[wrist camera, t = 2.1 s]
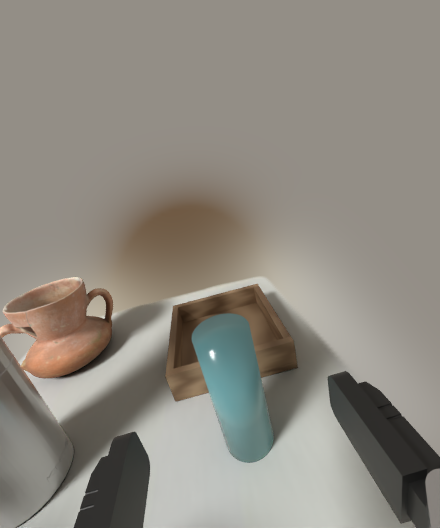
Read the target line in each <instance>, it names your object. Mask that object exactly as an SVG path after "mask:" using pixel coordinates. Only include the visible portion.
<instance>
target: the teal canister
mask: <svg viewBox="0 0 440 528" xmlns="http://www.w3.org/2000/svg"><path fill="white" fill-rule="evenodd" d="M192 343H193V346H194V349H195V352H196V355H197V358H198V361H199V364H200V367H201V370H202V373H203V376H204V379H205V382H206V385H207V388H208V391H209V394H210V397H211V400H212V403H213V406H214V409H215V412H216V415H217V418H218V421H219V424H220V427H221V430H222V433H223V436H224V439H225V442H226V445H227V448H228V450H229V452H230V453H231V455H232V456H233V457H235V458H236V459H237V460H239V461H242V462H247V463H250V462H256V461H258V460H260V459H262V458H263V457H265V456H266V455H267V454H268V452H269V451H270V449H271V447H272V444H273V439H274V435H273V429H272V425H271V420H270V416H269V411H268V407H267V402H266V398H265V393H264V389H263V384H262V380H261V375H260V371H259V366H258V362H257V357H256V353H255V348H254V344H253V339H252V335H251V330H250V326H249V322H248V321H247V320H246V319H245V318H244V317H243V316H241V315H238V314H231V313H226V314H219V315H215V316H212V317H210V318H208V319H206V320H204V321H203V322H201V323H200V324H199V325H198V326H197V327H196V328H195V330H194V331H193V333H192Z"/></svg>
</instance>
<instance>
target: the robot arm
mask: <svg viewBox="0 0 440 528" xmlns="http://www.w3.org/2000/svg"><path fill="white" fill-rule="evenodd" d="M328 387H329V395H330V403H331V407H332V410H333V412H334V415H335V417H336V418H337V420H338V422H339V423H340V425H341V427H342V428H343V430H344V432H345V433H346V435H347V437H348V438H349V440H350V441H351V443H352V445H353V446H354V448H355V450H356V451H357V453H358V454H359V456H360V458H361V459H362V461H363V463H364V464H365V466H366V467H367V469H368V471H369V472H370V474H371V476H372V477H373V479H374V480H375V482H376V484H377V485H378V487H379V489H380V490H381V492H382V494H383V495H384V497H385V498H386V500H387V502H388V503H389V505H390V507H391V508H392V510H393V511H394V513H395V515H396V516H397V518H398V520H399V521H400V523H404V522H408V521H411V520H412V522H413V523H414V525H415V527H416V528H440V457H439V456H438V455H437V454H436V452H435V451H434V450H433V449H432V448H431V447H430V446H429V445H428V444H427V442H426V441H425V440H424V439H423V438H422V437H421V436H420V435H419V433H418V432H417V431H416V430H415V429H414V428H413V427H412V426H411V425H410V424H409V422H408V421H407V420H406V419H405V418H404V417H402V416H401V413H400V412H399V411H398V410H397V409H396V408H395V407H394V406H392V404H391V402H390V401H389V400H388V399H387V398H386V397H385V396H384V395H383V394H382V392H381V391H380V390H378V389H377V388H375V387H373V386H372V385H370V384H369V383H367V382H362V383H359V384H358V383H357V382H356V381H355V380H354V379H353V377H352V376H351V375H350V374H349V373H348V372H346V371H345V372H341V373H338V374H334V375H331V376H328ZM73 453H74V449H73V444H72V443H71V441H70V440H69V438H68V436H67V435H66V433H65V432H64V430H63V429H62V427H61V426H60V424H59V423H58V421H57V420H56V418H55V417H54V415H53V414H52V412H51V411H50V409H49V408H48V406H47V405H46V403H45V402H44V400H43V399H42V397H41V396H40V394H39V393H38V391H37V390H36V388H35V387H34V385H33V384H32V382H31V381H30V379H29V378H28V376H27V375H26V373H25V372H24V370H23V369H22V367H21V366H20V364H19V363H18V361H17V360H16V358H15V357H14V355H13V354H12V353H11V351H10V350H9V348H8V347H7V345H6V344H5V342H4V341H3V339H2V338H1V336H0V528H16V527H17V526H19V525H20V524H22V523H23V522H25V521H26V520H28V519H29V518H30V517H31V516H32V515H34V514H35V513H36V512H37V511H38V510H39V509H40V508H41V507H42V506H43V505H44V504H45V503H46V502H47V501H48V500H49V499H50V498H51V497H52V495H53V494H54V493H55V492H56V490H57V489H58V488H59V486H60V485H61V483H62V481H63V480H64V478H65V477H66V475H67V472H68V470H69V468H70V466H71V463H72V459H73ZM149 476H150V462H149V457H148V455H147V453H146V451H145V449H144V447H143V445H142V443H141V441H140V439H139V437H138V435H137V434H136V432H131V433H128V434H124V435H121V436H117V437H115V438H114V439H113V441H112V444H111V447H110V451H109V454H108V456H105V457H102V458H101V459H100V461H99V463H98V464H97V466H96V467H95V469H94V471H93V472H92V474H91V477H90V480H89V483H88V486H87V489H86V492H85V493H86V494H85V496H84V498H83V501H82V504H81V507H80V512H79V513H78V516H77V519H76V522H75V525H74V528H143V522H144V514H145V507H146V499H147V491H148V484H149Z"/></svg>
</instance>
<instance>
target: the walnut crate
mask: <svg viewBox="0 0 440 528" xmlns="http://www.w3.org/2000/svg"><path fill="white" fill-rule="evenodd" d="M226 313H231V314H238V315H241V316H243V317H244V318H245V319H246V320H247V321H248V322H249V326H250V330H251V335H252V339H253V344H254V348H255V353H256V357H257V362H258V366H259V371H260V375H261V378H262V377H266V376H269V375H273V374H276V373H280V372H284V371H287V370H291V369H294V368H298V366H297V359H296V353H295V346H294V341H293V339H292V338H291V336H290V334H289V333H288V331H287V330H286V328H285V327H284V325H283V323H282V322H281V320H280V319H279V317H278V315H277V314H276V312H275V311H274V309H273V308H272V306H271V304H270V303H269V301H268V300H267V298H266V297H265V295H264V293H263V292H262V290H261V289H260V287H259V286H258V284H254V285H251V286H247V287H243V288H239V289H236V290H232V291H228V292H224V293H221V294H217V295H213V296H209V297H205V298H202V299H198V300H194V301H190V302H187V303H183V304H179V305H175V306H173V312H172V321H171V330H170V339H169V348H168V357H167V366H166V375H165V377H166V379H167V382H168V384H169V387H170V389H171V392H172V394H173V396H174V399H175V401H180V400H183V399H187V398H190V397H194V396H198V395H201V394H205V393H208V392H209V391H208V388H207V385H206V382H205V379H204V376H203V373H202V370H201V367H200V364H199V361H198V358H197V355H196V352H195V349H194V346H193V343H192V333H193V331H194V330H195V328H196V327H197V326H198V325H199V324H200V323H201V322H203V321H204V320H206V319H208V318H210V317H212V316H215V315H219V314H226Z"/></svg>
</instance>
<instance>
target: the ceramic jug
mask: <svg viewBox="0 0 440 528" xmlns="http://www.w3.org/2000/svg"><path fill="white" fill-rule="evenodd" d="M97 295H101V296H103V298H104V300H105V301H106V315H105V319H103V318H100V317H94V316H86V309H87V306H88V305H89V303H90V301H91V300H92V299H93V298H94V297H96V296H97ZM112 310H113V300H112V297H111V295H110V294H109V292H108V291H107V290H105V289H101V288H100V289H94V290H92V291H91V292H89V293H88V294H86V289H85V284H84V282H83V280H82V278H77V277H72V278H66V279H61V280H58V281H54V282H51V283H48V284H45V285H42V286H40V287H37V288H35V289H33V290H31V291H29V292H26V293H24V294H22V295H21V296H19V297H17V298H15V299H13V300H12V301H10V302H9V303H8V304H7V305H6V306H5V307H4V310H3V313H4V315H5V316H6V317H7V319H8V320H9V321H10V322H11V323H12V324H7V325H4V326H2V327H0V336H1V338H2V337H4V336H5V335H7V334H10V333H27V334H28V335H30V336H32V337H34V338H35V339H37V340H36V341H35V343H34V344H33V345H32V347H31V348H30V350H29V351H28V353H27V356H26V359H25V360H24V361H23V363H22V365H21V367H22V369H23V370H26V371H28V372H30V373H31V374H32V375H34V376H36V377H39V378H55V377H60V376H63V375H66V374H69V373H72V372H74V371H76V370H78V369H80V368H82V367H83V366H85V365H87V364H88V363H89V362H91V361H92V360H93V359H95V358H96V357H97V356H98V355H99V354H100V353H101V352H102V351H103V350H104V349H105V348H106V346H107V345H108V343H109V341H110V339H111V336H112V329H111V327H112V321H111V315H112Z"/></svg>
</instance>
